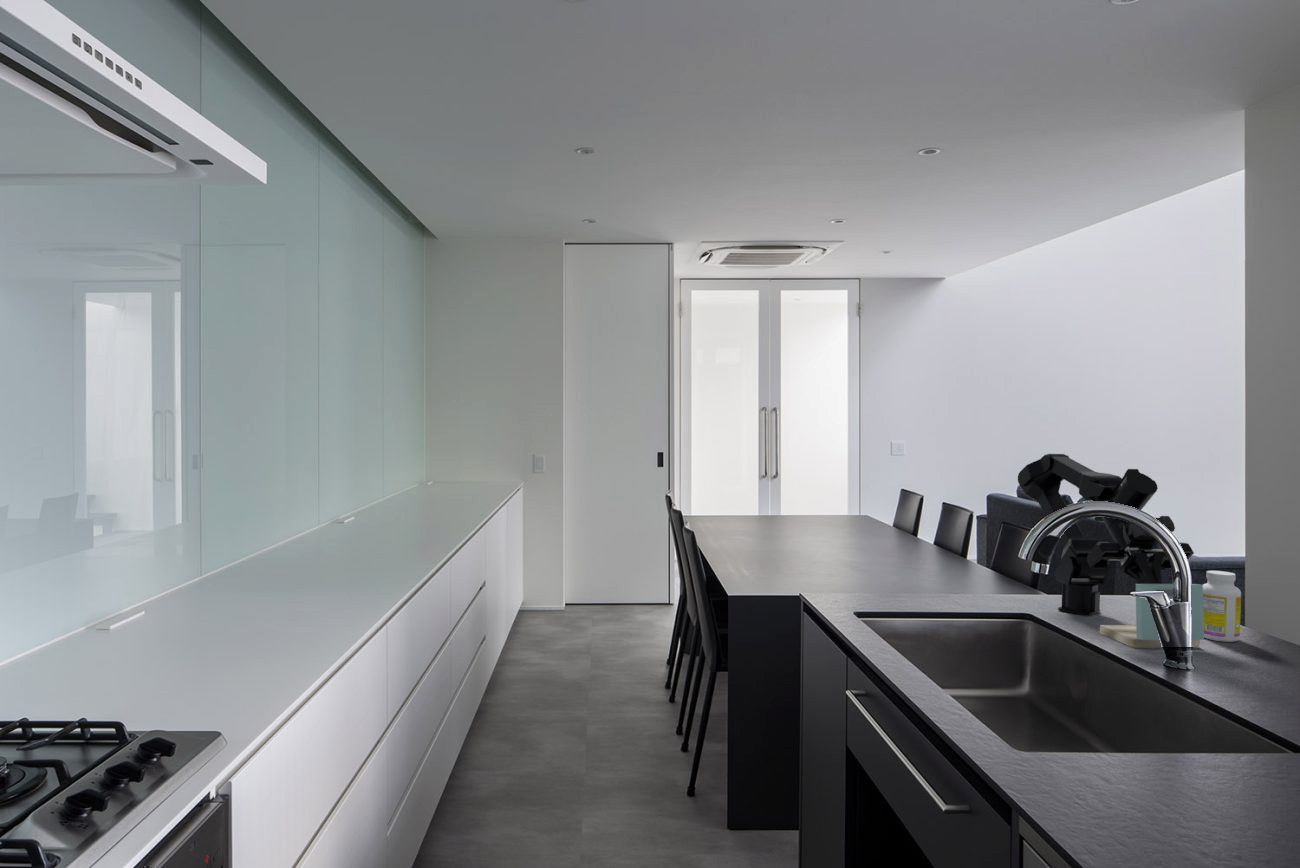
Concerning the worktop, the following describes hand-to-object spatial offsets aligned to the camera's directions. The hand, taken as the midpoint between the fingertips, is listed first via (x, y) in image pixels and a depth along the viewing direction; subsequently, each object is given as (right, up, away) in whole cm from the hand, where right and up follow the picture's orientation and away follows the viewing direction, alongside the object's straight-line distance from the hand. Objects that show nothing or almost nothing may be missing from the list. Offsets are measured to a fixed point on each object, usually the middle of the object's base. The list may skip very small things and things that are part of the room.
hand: (1159, 592), depth 157 cm
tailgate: (0, -8, -4) cm, 9 cm away
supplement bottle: (+15, -10, +5) cm, 19 cm away
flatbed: (0, -10, +3) cm, 10 cm away
